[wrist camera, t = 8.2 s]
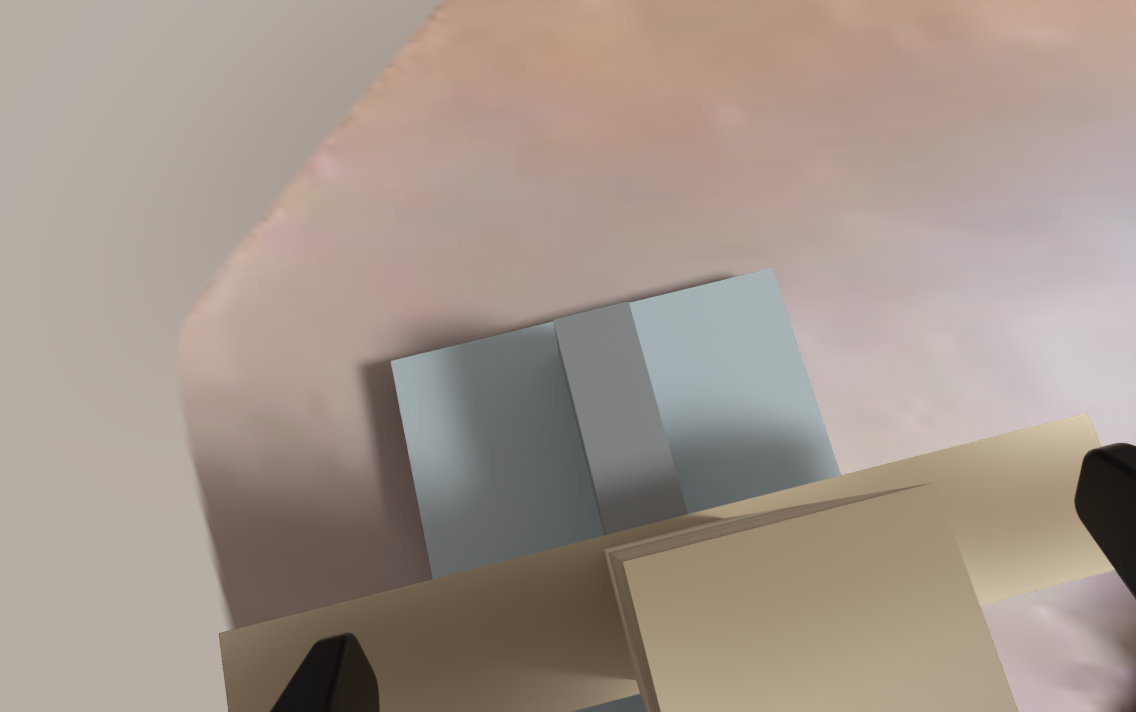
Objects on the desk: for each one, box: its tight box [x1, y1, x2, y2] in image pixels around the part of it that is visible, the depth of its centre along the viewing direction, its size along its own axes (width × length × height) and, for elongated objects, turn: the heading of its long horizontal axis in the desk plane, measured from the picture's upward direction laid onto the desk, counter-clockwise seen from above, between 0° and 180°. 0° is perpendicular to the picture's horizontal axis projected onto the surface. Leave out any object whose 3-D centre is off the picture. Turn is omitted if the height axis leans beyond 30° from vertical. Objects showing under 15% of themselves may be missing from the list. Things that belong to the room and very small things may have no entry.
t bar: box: [219, 413, 1115, 712], centre depth 12 cm, size 3×18×12 cm, turn 104°
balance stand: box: [391, 268, 841, 712], centre depth 20 cm, size 16×12×4 cm
